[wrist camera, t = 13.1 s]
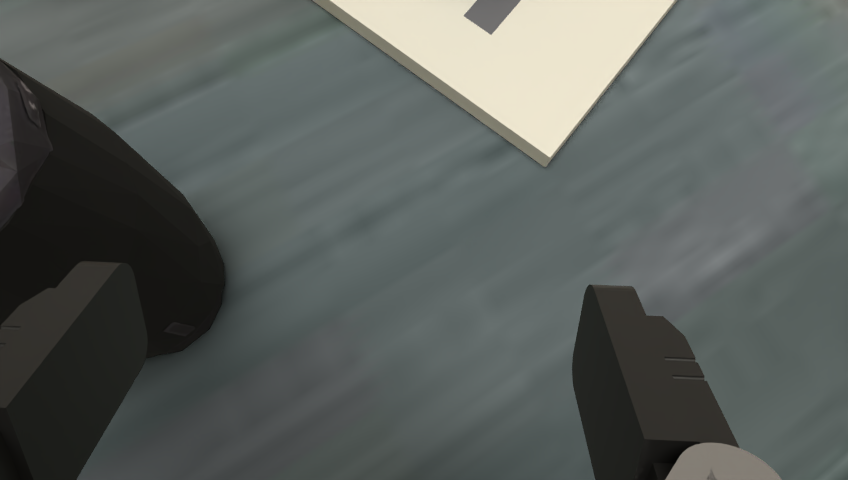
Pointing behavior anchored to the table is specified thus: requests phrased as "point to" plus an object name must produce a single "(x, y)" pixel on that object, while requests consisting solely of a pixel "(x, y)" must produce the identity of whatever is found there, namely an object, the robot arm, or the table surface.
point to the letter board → (511, 55)
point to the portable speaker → (96, 215)
